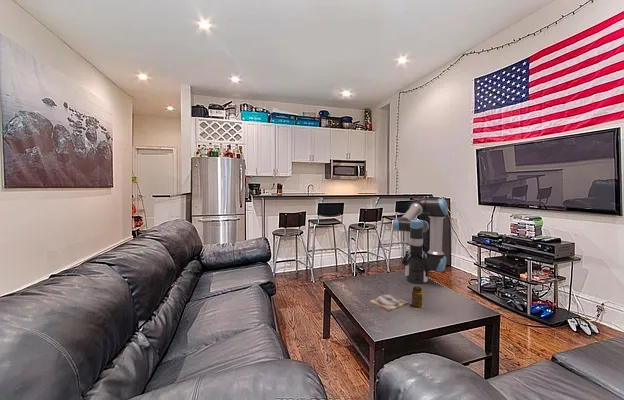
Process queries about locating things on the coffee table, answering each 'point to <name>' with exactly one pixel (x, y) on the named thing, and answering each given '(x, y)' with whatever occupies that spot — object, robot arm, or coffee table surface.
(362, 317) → the coffee table surface
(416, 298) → the condiment
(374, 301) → the board
